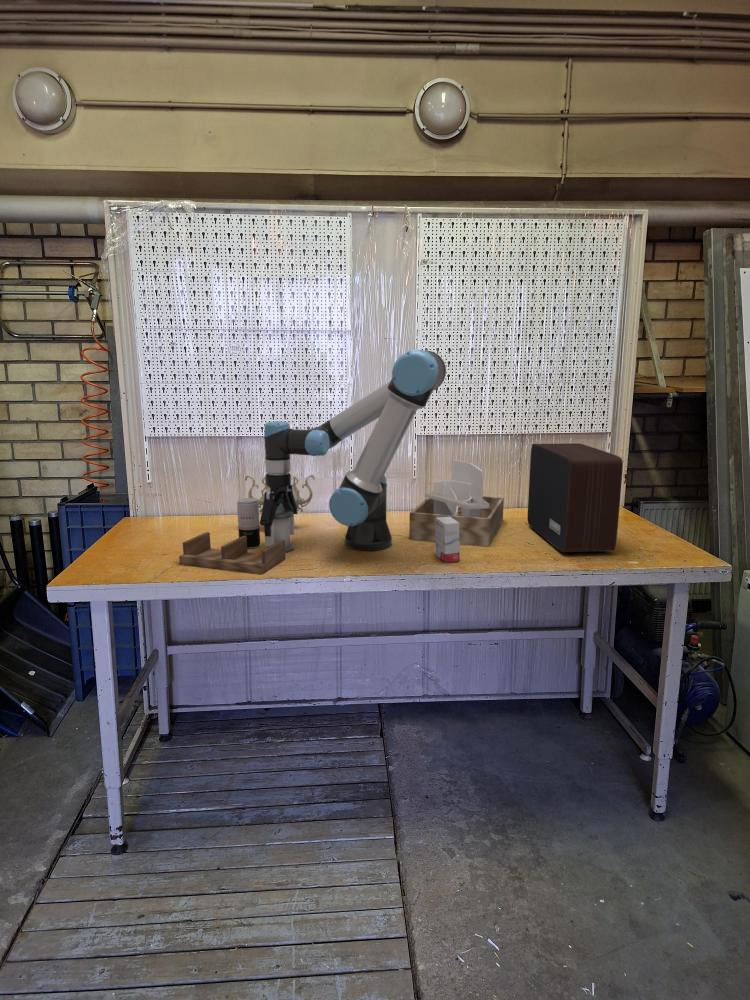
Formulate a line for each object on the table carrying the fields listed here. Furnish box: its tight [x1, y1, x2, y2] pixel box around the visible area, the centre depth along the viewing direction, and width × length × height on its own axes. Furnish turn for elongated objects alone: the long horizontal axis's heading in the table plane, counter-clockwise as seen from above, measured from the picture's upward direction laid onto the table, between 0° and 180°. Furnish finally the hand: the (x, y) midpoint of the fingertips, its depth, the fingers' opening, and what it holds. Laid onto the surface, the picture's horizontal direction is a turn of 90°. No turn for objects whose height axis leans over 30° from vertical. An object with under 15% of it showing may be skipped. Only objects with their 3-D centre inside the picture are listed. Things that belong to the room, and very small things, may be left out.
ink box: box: [435, 517, 461, 563], centre depth 184 cm, size 9×5×12 cm, turn 13°
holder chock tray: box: [408, 495, 505, 548], centre depth 215 cm, size 26×33×9 cm
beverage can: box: [236, 497, 261, 550], centre depth 196 cm, size 7×6×15 cm
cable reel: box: [266, 510, 295, 554], centre depth 193 cm, size 8×8×12 cm
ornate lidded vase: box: [244, 474, 316, 515], centre depth 215 cm, size 24×12×30 cm, turn 91°
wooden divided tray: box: [178, 531, 287, 575], centre depth 182 cm, size 27×14×6 cm, turn 71°
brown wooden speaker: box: [527, 442, 624, 553], centre depth 201 cm, size 36×18×30 cm, turn 4°
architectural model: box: [424, 459, 489, 518], centre depth 213 cm, size 28×21×23 cm
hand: (280, 540), depth 194 cm, fingers open, 13 cm apart
